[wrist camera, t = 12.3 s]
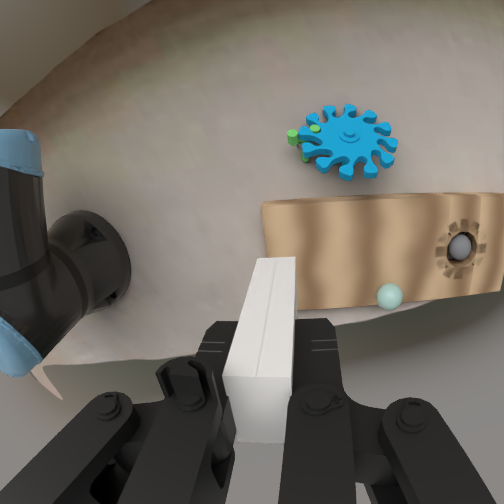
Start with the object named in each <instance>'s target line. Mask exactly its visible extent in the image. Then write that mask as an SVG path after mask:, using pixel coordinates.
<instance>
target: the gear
mask: <svg viewBox="0 0 504 504" xmlns="http://www.w3.org/2000/svg"><path fill="white" fill-rule="evenodd" d="M323 115H324V116H325V117H326V118H327V119H328V122H327V123H320V122H319V116H318V114H316V113H312V114H310V115H308V116H306V123H307V124H308V125H309V126H310V128H308V127H306V126H302V127H301V128H300V130H299V132H297V131H296V130H289V131H288V132H287V136H288V143H289V144H290V145H292V146H295V145H297V147H298V149H300V150H302V161H303V162H308V161H309V158H310V157H312V156H315V155H320V154H323V155H330V156H331V157H329V158H328V157H319V158H317V159H316V167H317V169H318V170H319V171H320V172H321V173H326V172H328V171H329V169H330V168H331V166H333V165H334V164H336V163H339V162H341V167H340V169H339V177H340V178H342V179H344V180H347V181H351V180H352V178H353V172H354V171H353V167H354V166H355V165H356V164H357V163H358V162H364V163H365V164H366V165H365V166H364V171H363V176H364V177H365V178H376V176H377V173H378V168H377V167H376V166H375V165H374V163H373V162H372V159H371V156H372V155H376V156H378V157H379V158H380V165H381V166H382V167H383V168H385V169H386V168H389V167H390V166H392V165H393V163H394V157H393V156H392V155H391V154H389V153H387V152H385V151H383V150H382V149H381V148H380V147H379V145H378V144H381V145H383V146H384V147H385V148H386V149H387V151H389V152H391V153H394V152H395V151H396V147H397V144H398V140H397V139H395V138H387V137H383V136H381V135H379V134H377V133H380V134H382V135H384V136H390V133H391V126H390V124H389V123H387V122H383V123H381V124H368V123H375V122H376V118H377V115H376V114H375V113H374V112H373V111H371V110H367V111H365V113H364V114H363V115H362V116H359V117H356V118H351V117H353V116H355V115H356V107H355V106H353V105H349V104H346V105H345V106H344V114H343V115H342V116H341V117H339V118H335V117H334V116H335V107H334V106H324V107H323ZM375 132H377V133H375Z"/></svg>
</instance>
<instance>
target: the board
mask: <svg viewBox="0 0 504 504" xmlns="http://www.w3.org/2000/svg"><path fill="white" fill-rule="evenodd" d="M261 210H262V219H263V227H264V236H265V244H266V253H267V258H276V257H295V258H296V278H297V303H298V310H308V309H326V308H343V307H357V306H370V305H379V304H378V302H377V299H376V295H377V291H378V290H379V288H380V287H381V286H382V285H384V284H386V283H394V284H397V285H398V286H399V287H400V288H401V290H402V293H403V300H402V302H401V303H404V302H414V301H424V300H433V299H442V298H450V297H458V296H466V295H473V294H480V293H487V292H494V291H500V287H501V283H502V279H503V274H504V193H409V194H380V195H357V196H338V197H322V198H307V199H293V200H280V201H267V202H263V204H262V206H261ZM459 232H467V235H468V238H469V240H470V242H471V251H470V253H469V255H468V256H467V257H466V258H464V259H461V260H458V259H451V260H448V259H447V257H446V253H447V246H448V244H449V242H450V241H451V239H452V237H454V236H455V235H457V234H458V233H459Z"/></svg>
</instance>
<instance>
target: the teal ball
mask: <svg viewBox="0 0 504 504" xmlns="http://www.w3.org/2000/svg"><path fill="white" fill-rule="evenodd" d="M376 299H377V302H378V304H379V306H380V307H381V308H383V309H385V310H394V309H396V308H397V307H399V305H400V304H401V302H402V300H403V293H402V290H401V288H400V287H399V286H398V285H397V284H394V283H386V284H384V285H382V286H381V287H380V288H379V290H378V291H377V295H376Z"/></svg>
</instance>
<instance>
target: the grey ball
mask: <svg viewBox="0 0 504 504" xmlns="http://www.w3.org/2000/svg"><path fill="white" fill-rule="evenodd" d="M448 251H449V253H450V255H451V256H452V257H453V258H455V259H458V260H461V259H464V258H466V257H467V256H468V255H469V253H470V251H471V242H470V240H469V238H468V237H467V236H465V235H464V234H457V235H455V236H454V237H452V239H451V241H450V242H449V244H448Z"/></svg>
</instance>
